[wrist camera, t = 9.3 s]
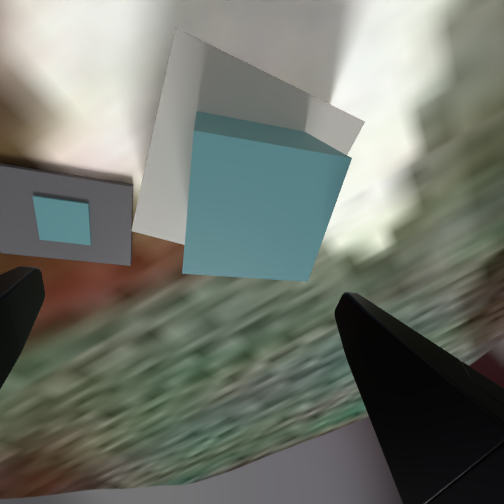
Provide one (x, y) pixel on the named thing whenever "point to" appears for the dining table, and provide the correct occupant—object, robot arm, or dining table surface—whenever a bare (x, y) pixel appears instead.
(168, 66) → the white block
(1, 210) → the card
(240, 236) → the teal block
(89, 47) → the dining table surface
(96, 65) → the dining table surface
